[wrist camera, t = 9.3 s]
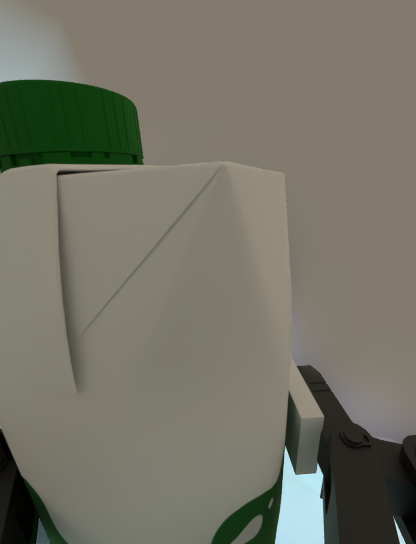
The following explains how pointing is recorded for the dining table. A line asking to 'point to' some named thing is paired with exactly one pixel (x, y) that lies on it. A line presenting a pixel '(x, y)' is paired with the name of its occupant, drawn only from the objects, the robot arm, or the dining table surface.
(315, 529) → the dining table surface
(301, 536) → the dining table surface
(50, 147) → the soya milk
